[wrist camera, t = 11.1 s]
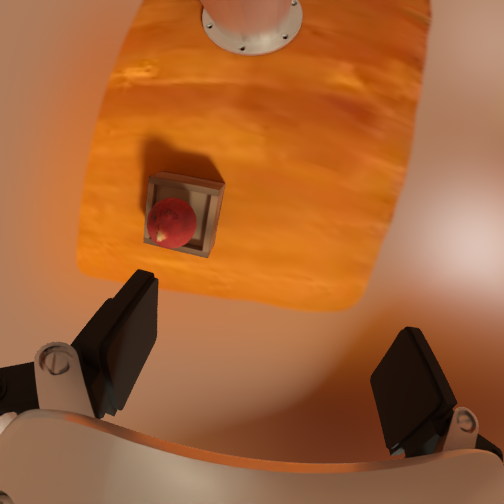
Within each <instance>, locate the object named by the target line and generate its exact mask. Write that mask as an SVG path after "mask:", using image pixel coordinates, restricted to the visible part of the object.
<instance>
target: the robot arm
mask: <svg viewBox="0 0 504 504" xmlns="http://www.w3.org/2000/svg"><path fill="white" fill-rule="evenodd" d="M199 1H200V2H201V4H202V5H203V7H204V9H203V13H202V24H203V27H204V30H205V32H206V33H207V35H208V37H209V38H210V39H211V40H212V41H213V42H214V43H215V44H216V45H217V46H219V47H220V48H222V49H224V50H226V51H228V52H231V53H234V54H239V55H247V56H256V55H264V54H268V53H271V52H274V51H276V50H279V49H281V48H282V47H284V46H285V45H287V44H288V43H290V42H291V41H292V40H293V39H294V38H295V36H296V35H297V33H298V32H299V29H300V27H301V24H302V19H303V14H302V8H301V4H300V2H299V1H298V0H199ZM292 5H295V6H292ZM210 27H212V28H210ZM209 28H210V29H209ZM283 37H287V39H283ZM242 48H244V49H245V50H244V51H241V49H242ZM157 305H158V279H157V278H154V274H153V273H151V272H148V271H144V270H140V269H138V270H137V271H136V272H135V273H134V274H133V275H132V276H131V278H130V279H129V280H128V281H127V282H126V283H125V285H124V286H123V287H122V288H121V290H120V291H119V292H118V293H117V294H116V295H115V297H114V298H113V299H112V298H109V299H108V300H106V301H105V302H104V304H103V305H102V306H101V307H100V308H99V310H98V311H97V312H96V313H95V315H94V316H93V317H92V318H91V320H90V321H89V322H88V323H87V324H86V326H85V327H84V328H83V329H82V331H81V332H80V333H79V335H78V336H77V337H76V338H75V340H74V341H73V342H72V344H71V345H68V344H67V343H63V342H51V343H48V344H46V345H44V346H42V347H41V348H40V349H39V350H38V351H37V353H36V355H35V360H34V362H30V363H25V364H20V365H15V366H9V367H3V368H0V504H504V464H503V454H502V451H501V450H500V449H499V448H498V447H496V446H495V445H494V444H492V443H491V442H489V441H488V440H486V439H485V438H484V437H482V436H481V435H479V434H478V420H477V418H476V416H475V415H474V414H473V412H471V411H470V410H469V409H467V408H464V407H460V408H457V409H456V410H455V411H454V412H453V409H452V408H453V407H454V406H455V405H456V404H457V401H456V399H455V396H454V394H453V392H452V390H451V388H450V386H449V383H448V381H447V379H446V377H445V375H444V373H443V371H442V369H441V367H440V365H439V363H438V361H437V360H436V357H435V356H434V354H433V352H432V350H431V348H430V346H429V344H428V343H427V341H426V339H425V337H424V335H423V334H422V332H421V330H420V329H419V328H414V327H405V328H404V329H403V330H401V331H400V332H399V334H398V335H397V337H396V339H395V340H394V342H393V344H392V345H391V347H390V348H389V350H388V351H387V353H386V354H385V356H384V357H383V359H382V360H381V362H380V363H379V365H378V366H377V368H376V369H375V371H374V372H373V374H372V375H371V379H370V383H371V386H372V390H373V394H374V398H375V401H376V405H377V409H378V413H379V417H380V421H381V426H382V430H383V434H384V439H385V443H386V447H387V448H388V449H389V451H390V455H399V454H402V453H403V452H405V457H404V459H397V460H389V461H378V462H366V463H346V464H309V463H290V462H277V461H267V460H258V459H251V458H243V457H237V456H231V455H225V454H220V453H214V452H210V451H205V450H200V449H196V448H192V447H188V446H184V445H180V444H176V443H172V442H169V441H165V440H161V439H158V438H155V437H151V436H148V435H145V434H141V433H139V432H136V431H133V430H130V429H127V428H124V427H120V426H118V425H114V424H112V423H109V422H106V421H103V420H100V419H101V418H103V417H104V415H105V413H107V414H110V415H112V416H115V414H116V412H117V409H118V410H122V409H123V408H124V406H125V403H126V401H127V399H128V397H129V395H130V393H131V390H132V389H133V386H134V384H135V382H136V380H137V378H138V376H139V374H140V372H141V370H142V368H143V366H144V364H145V362H146V360H147V358H148V355H149V354H150V351H151V349H152V347H153V345H154V344H155V341H156V338H157Z"/></svg>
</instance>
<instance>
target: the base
mask: <svg viewBox="0 0 504 504" xmlns="http://www.w3.org/2000/svg"><path fill="white" fill-rule="evenodd" d="M224 188H225V183H221V182H216V181H211V180H206V179H201V178H196V177H191V176H185V175H180V174H174V173H169V172H163V171H161V172H159V173H157V174H154V175H152V176H150V177H149V181H148V191H147V201H146V213H145V227H144V243H147V244H151V245H155V246H158V245H157V244H156V243H155V242H154V241H153V240H152V239H151V237H150V236H149V234H148V230H147V219H148V214H149V212H150V211H151V209H152V208H153V206H154V205H155V204H156V203H157V202H159V201H161V200H163V199H165V198H179V199H181V200H183V201H186V202H187V203H188V204H189V205H190V206H191V207H192V208H193V210H194V212H195V215H196V221H197V227H196V230H195V233H194V236H193V237H192V238H191V239H190V240H189V241H188V242H187V243H186V244H185V245H182V246H180V247H178V248H169V249H171V250H175V251H180V252H184V253H188V254H192V255H196V256H200V257H205V258H208V256H209V254H210V252H211V250H212V248H213V246H214V243H215V237H216V231H217V226H218V220H219V215H220V209H221V204H222V199H223V193H224ZM159 247H161V246H159ZM163 248H164V247H163Z"/></svg>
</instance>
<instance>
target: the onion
mask: <svg viewBox="0 0 504 504" xmlns="http://www.w3.org/2000/svg"><path fill="white" fill-rule="evenodd" d="M196 227H197V221H196V215H195V212H194V210H193V208H192V207H191V206H190V205H189V204H188V203H187V202H186V201H183V200H181V199H179V198H165V199H163V200H161V201H159V202H157V203H156V204H155V205H154V206H153V208H152V209H151V211H150V212H149V214H148V219H147V230H148V234H149V236H150V237H151V239H152V240H153V241H154V242H155V243H156V244H157V245H158V246H161V247H164V248H167V249H169V248H178V247H180V246H182V245H185V244H186V243H187V242H188V241H189V240H190V239H191V238H192V237H193V236H194V233H195V230H196Z"/></svg>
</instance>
